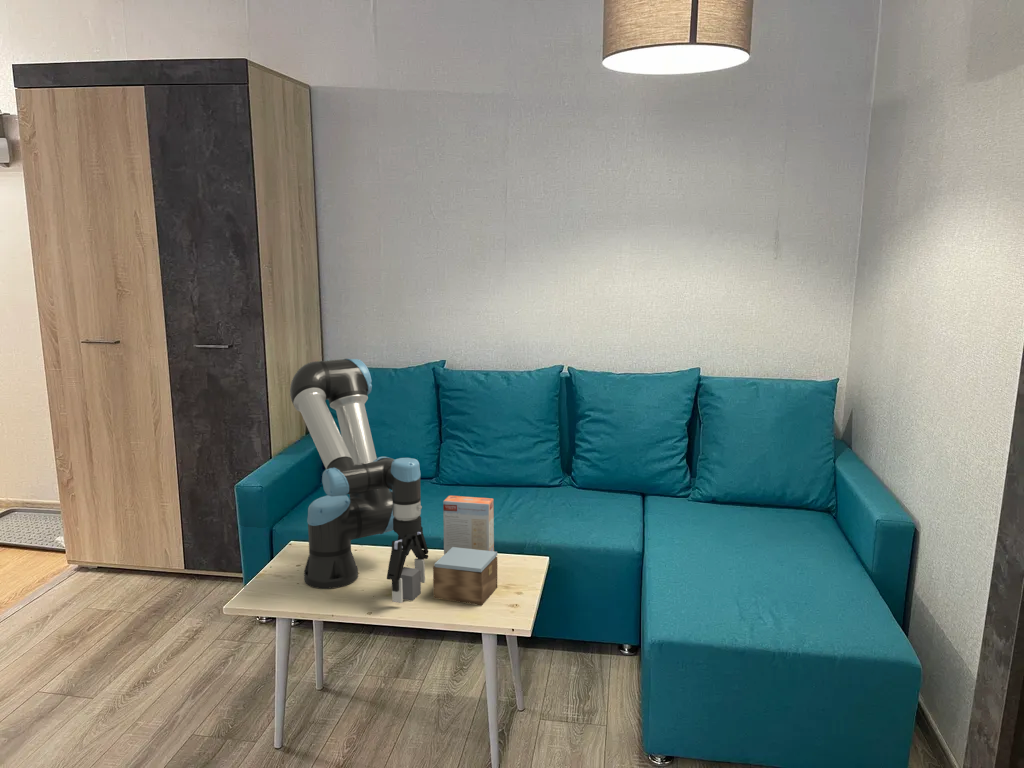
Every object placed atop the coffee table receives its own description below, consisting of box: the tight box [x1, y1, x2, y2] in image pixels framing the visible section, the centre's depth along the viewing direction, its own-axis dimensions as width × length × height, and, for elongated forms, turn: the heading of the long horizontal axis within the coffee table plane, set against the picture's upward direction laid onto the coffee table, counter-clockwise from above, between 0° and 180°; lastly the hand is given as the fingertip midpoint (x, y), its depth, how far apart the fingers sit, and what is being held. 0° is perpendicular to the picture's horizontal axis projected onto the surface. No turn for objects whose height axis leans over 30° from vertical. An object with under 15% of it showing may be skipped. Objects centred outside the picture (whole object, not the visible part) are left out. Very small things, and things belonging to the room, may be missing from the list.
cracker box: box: [442, 495, 495, 555], centre depth 235 cm, size 14×6×21 cm, turn 77°
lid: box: [433, 547, 498, 572], centre depth 218 cm, size 13×12×1 cm
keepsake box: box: [432, 556, 498, 607], centre depth 219 cm, size 14×12×9 cm
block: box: [400, 566, 422, 602], centre depth 217 cm, size 5×5×7 cm
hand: (409, 591), depth 217 cm, fingers open, 13 cm apart
